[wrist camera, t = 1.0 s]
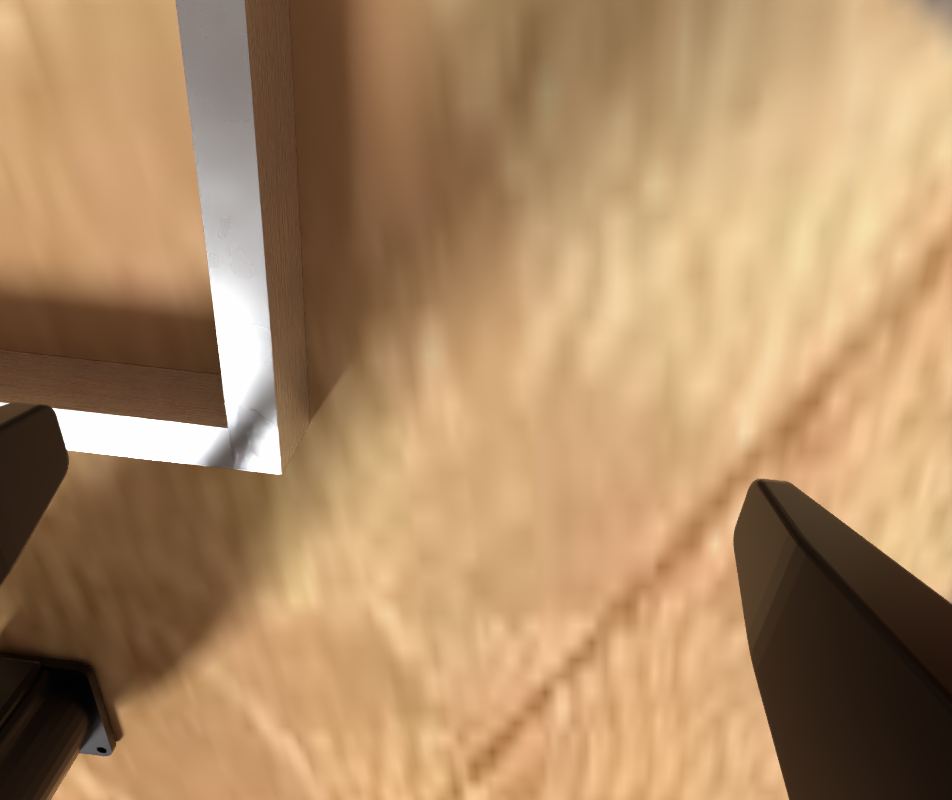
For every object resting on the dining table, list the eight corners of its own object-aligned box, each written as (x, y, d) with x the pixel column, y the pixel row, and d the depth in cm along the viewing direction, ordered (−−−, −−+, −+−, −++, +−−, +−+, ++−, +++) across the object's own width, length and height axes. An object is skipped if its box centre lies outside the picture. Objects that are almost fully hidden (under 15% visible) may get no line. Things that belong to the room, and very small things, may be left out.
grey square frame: (282, -123, 16) (233, -146, 13) (309, 422, 24) (281, 474, 21) (-282, -176, 16) (-437, -207, 14) (-74, 378, 24) (-148, 425, 21)
